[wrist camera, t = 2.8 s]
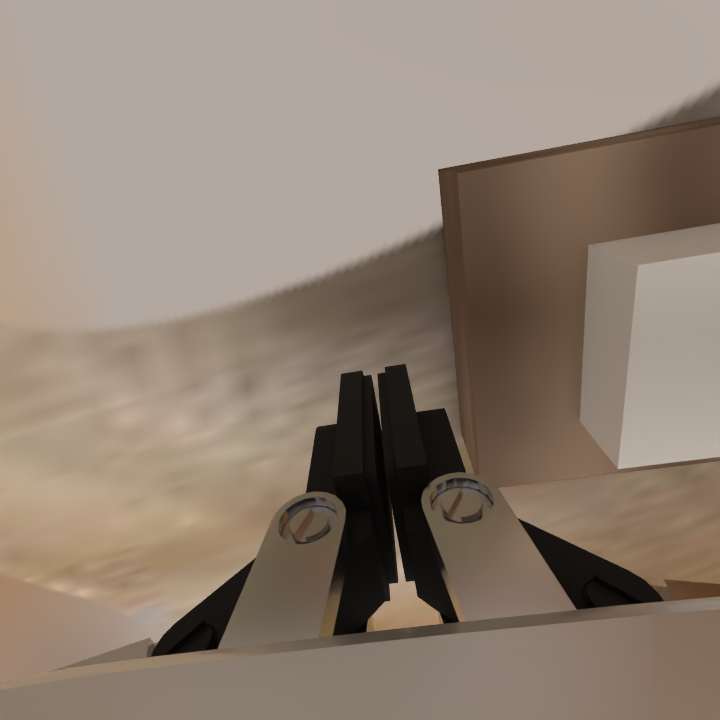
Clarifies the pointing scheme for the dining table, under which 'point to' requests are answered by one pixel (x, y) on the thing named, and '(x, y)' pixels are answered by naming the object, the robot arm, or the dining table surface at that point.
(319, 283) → the dining table surface
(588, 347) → the white rectangular block
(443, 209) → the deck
